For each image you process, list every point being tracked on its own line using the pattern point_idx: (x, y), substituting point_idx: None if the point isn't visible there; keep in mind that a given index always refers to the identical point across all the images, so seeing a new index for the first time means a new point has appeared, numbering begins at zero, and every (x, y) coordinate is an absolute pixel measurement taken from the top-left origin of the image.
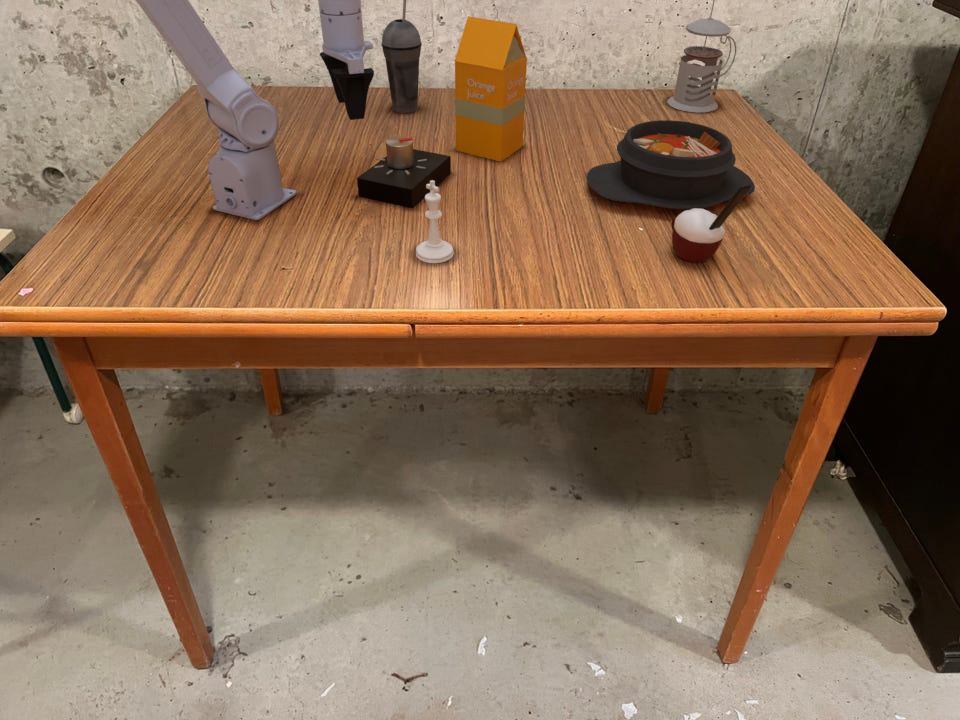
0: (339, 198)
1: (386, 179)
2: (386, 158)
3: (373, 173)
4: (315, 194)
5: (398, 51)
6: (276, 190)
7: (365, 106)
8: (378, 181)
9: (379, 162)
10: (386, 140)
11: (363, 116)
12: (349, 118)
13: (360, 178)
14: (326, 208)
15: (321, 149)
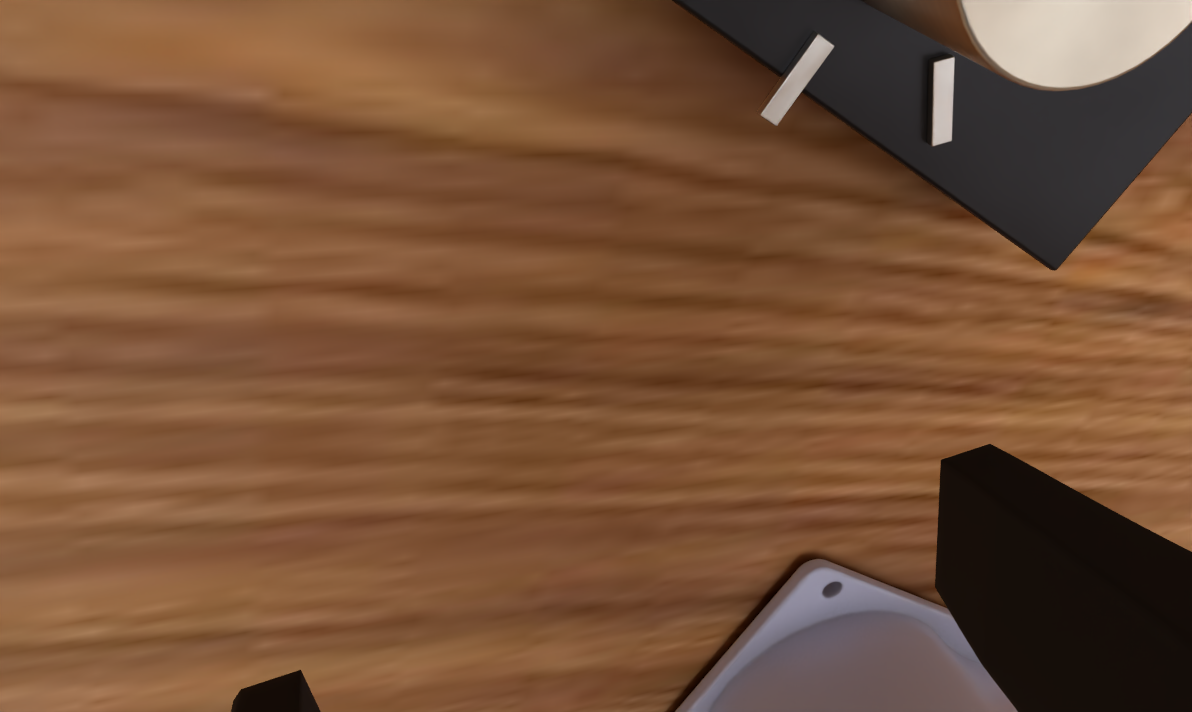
0: (932, 322)
1: (1183, 33)
2: (762, 20)
3: (1035, 145)
4: (830, 462)
5: None
6: (950, 668)
7: (1120, 516)
8: (1188, 102)
9: (835, 93)
10: (1032, 84)
11: (1013, 460)
12: (937, 586)
13: (1078, 243)
14: (1027, 378)
15: (5, 562)
